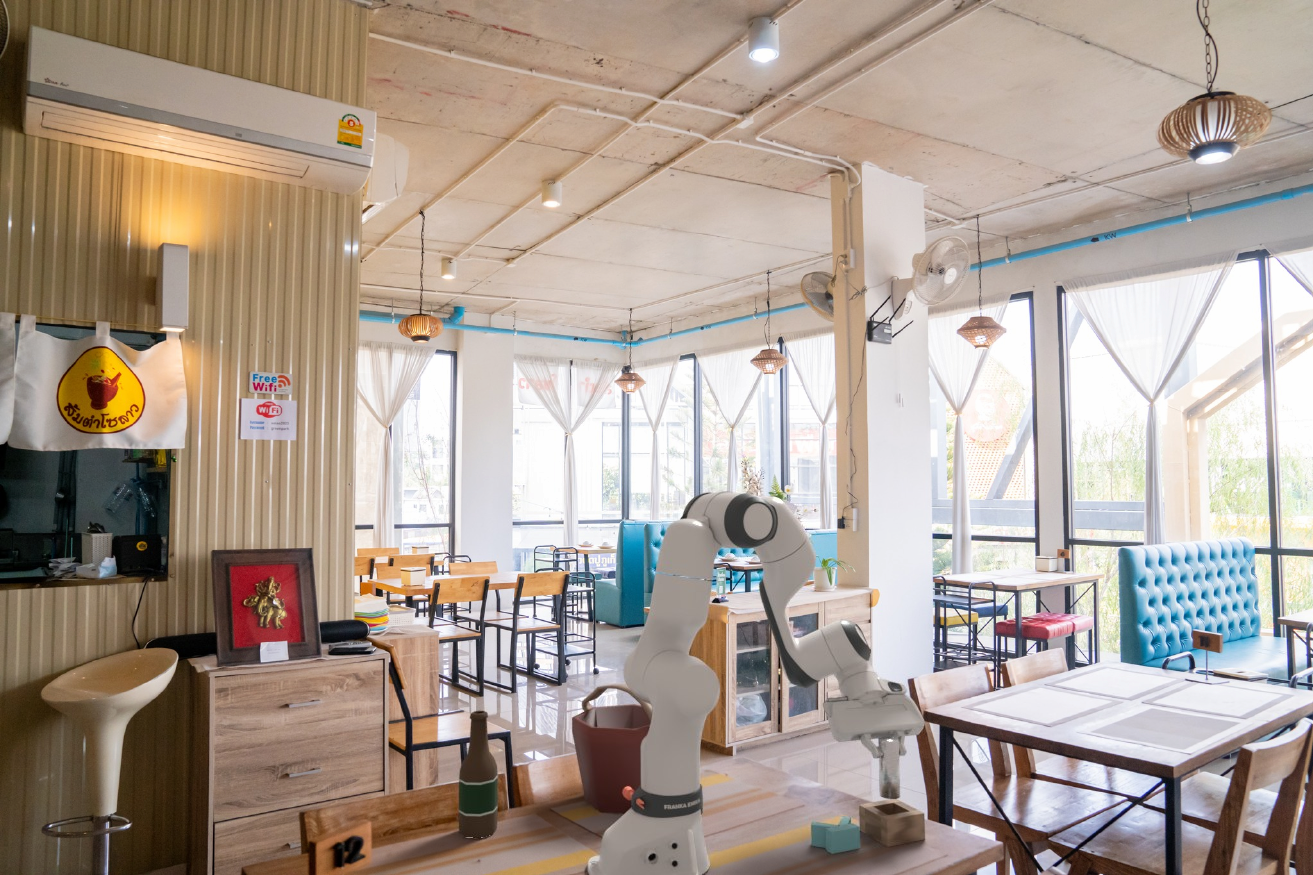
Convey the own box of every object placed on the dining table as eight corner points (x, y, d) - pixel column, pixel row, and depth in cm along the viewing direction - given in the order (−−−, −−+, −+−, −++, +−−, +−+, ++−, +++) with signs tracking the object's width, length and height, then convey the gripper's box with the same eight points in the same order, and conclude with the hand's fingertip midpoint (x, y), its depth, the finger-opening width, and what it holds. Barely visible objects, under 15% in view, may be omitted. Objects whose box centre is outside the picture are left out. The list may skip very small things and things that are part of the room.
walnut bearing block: (887, 846, 162) (887, 820, 162) (859, 829, 170) (858, 804, 170) (925, 839, 165) (924, 813, 165) (895, 823, 173) (895, 798, 174)
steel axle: (888, 800, 165) (886, 743, 166) (875, 793, 169) (874, 737, 170) (904, 797, 167) (903, 740, 168) (891, 791, 170) (890, 735, 171)
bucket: (559, 791, 194) (559, 682, 196) (644, 776, 204) (643, 672, 206) (603, 827, 172) (603, 704, 174) (695, 808, 183) (694, 691, 185)
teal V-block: (825, 855, 158) (824, 833, 158) (808, 843, 163) (807, 822, 164) (866, 846, 162) (865, 825, 162) (848, 835, 167) (847, 815, 167)
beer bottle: (450, 835, 169) (451, 714, 171) (475, 822, 176) (476, 705, 178) (480, 842, 165) (481, 718, 167) (505, 828, 172) (505, 709, 174)
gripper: (825, 690, 173) (849, 751, 163) (911, 683, 179) (940, 743, 169) (815, 707, 177) (839, 768, 167) (900, 700, 183) (927, 759, 173)
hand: (890, 755), depth 168 cm, fingers closed on steel axle, 4 cm apart
